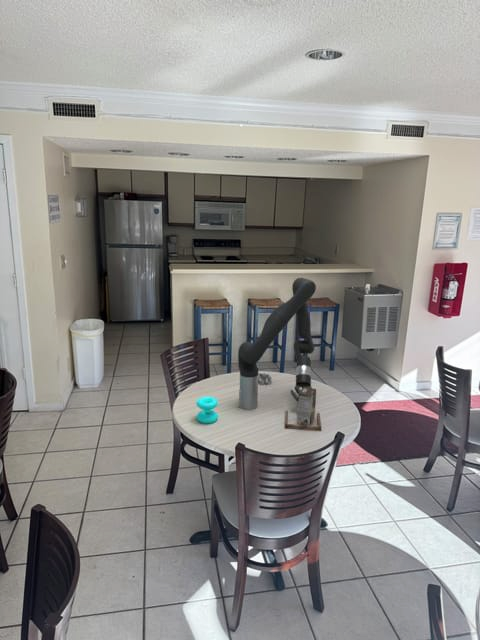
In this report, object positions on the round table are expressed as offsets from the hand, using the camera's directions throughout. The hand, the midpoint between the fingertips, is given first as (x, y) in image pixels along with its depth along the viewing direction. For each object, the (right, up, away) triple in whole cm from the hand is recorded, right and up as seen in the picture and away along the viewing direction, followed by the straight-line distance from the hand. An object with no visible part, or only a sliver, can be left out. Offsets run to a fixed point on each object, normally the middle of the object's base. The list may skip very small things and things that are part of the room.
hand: (302, 409), depth 210 cm
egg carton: (-16, +7, +43) cm, 46 cm away
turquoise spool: (-46, -4, -3) cm, 46 cm away
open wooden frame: (-1, -5, -4) cm, 6 cm away
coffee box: (+1, -5, -5) cm, 7 cm away
